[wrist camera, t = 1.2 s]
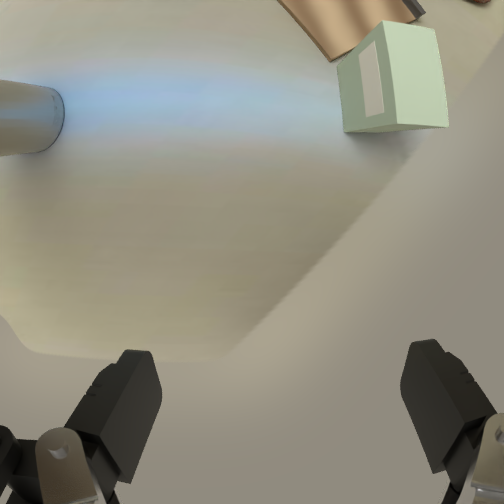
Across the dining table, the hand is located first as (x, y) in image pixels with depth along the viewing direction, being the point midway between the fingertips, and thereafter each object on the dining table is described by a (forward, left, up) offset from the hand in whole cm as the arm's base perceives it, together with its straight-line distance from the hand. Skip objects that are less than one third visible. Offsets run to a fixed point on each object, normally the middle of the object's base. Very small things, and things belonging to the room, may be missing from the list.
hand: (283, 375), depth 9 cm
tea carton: (+12, +12, -28) cm, 33 cm away
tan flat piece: (+11, +27, -28) cm, 40 cm away
